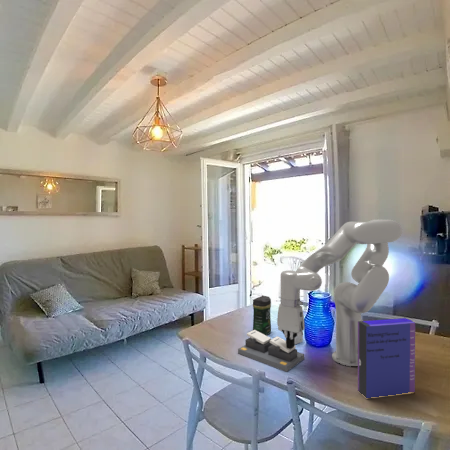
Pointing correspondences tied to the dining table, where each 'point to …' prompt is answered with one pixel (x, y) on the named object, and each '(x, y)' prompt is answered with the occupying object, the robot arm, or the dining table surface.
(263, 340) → the outer rocker
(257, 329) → the coffee jar
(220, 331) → the dining table surface
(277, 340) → the inner rocker
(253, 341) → the switch panel
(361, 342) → the blue upright rectangular block
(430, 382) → the dining table surface
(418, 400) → the dining table surface
